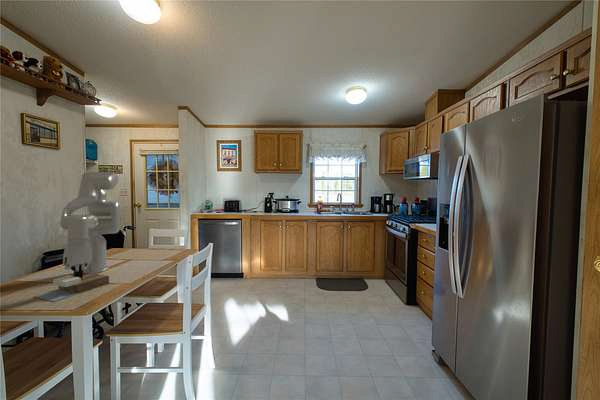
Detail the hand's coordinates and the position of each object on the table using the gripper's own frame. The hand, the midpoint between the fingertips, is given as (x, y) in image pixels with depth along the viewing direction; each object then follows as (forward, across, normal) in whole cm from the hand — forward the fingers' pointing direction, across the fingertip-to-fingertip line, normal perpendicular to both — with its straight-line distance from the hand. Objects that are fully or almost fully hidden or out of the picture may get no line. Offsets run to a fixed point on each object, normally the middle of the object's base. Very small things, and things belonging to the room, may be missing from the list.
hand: (78, 278), depth 122 cm
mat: (+5, +9, 0) cm, 10 cm away
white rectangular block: (+1, +5, 0) cm, 5 cm away
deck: (+5, -3, 0) cm, 6 cm away
